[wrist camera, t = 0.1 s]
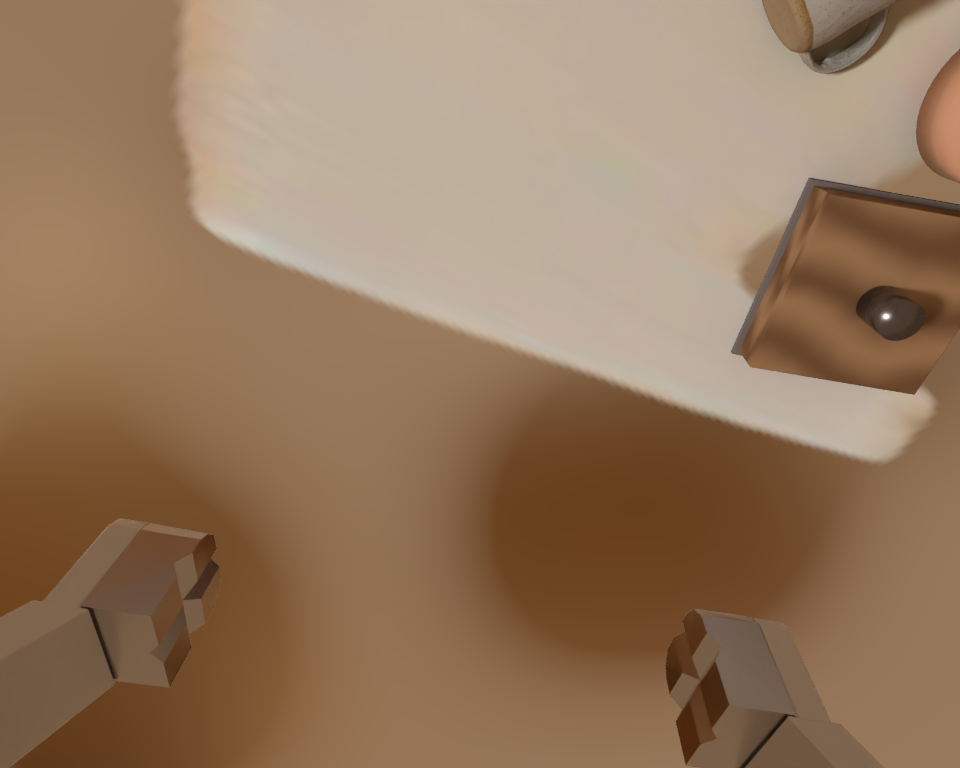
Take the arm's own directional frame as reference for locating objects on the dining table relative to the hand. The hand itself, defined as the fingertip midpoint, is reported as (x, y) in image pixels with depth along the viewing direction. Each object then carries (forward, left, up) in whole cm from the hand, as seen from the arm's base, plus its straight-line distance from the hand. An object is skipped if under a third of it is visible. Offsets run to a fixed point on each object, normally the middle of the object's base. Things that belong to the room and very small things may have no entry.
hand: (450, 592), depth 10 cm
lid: (+7, +36, -47) cm, 60 cm away
